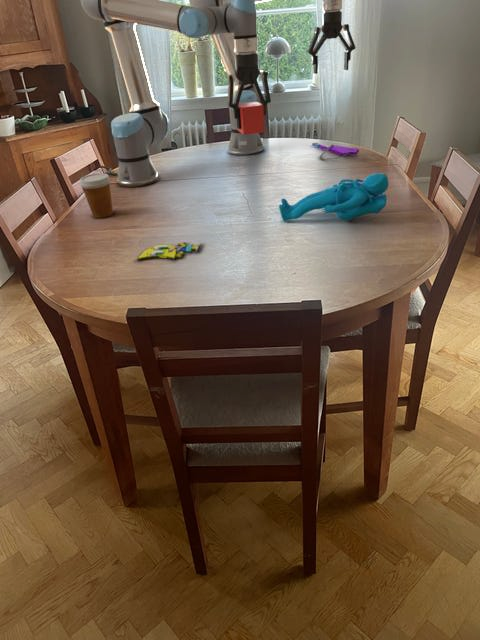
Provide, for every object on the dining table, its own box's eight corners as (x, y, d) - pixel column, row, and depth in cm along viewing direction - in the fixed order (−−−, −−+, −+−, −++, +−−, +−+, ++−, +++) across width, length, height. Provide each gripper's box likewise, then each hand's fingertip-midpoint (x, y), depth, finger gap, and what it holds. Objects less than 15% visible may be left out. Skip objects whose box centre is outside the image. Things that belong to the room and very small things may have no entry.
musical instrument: (347, 164, 184) (366, 144, 196) (347, 159, 183) (366, 139, 195) (292, 163, 197) (312, 145, 209) (291, 158, 195) (312, 140, 208)
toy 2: (282, 188, 144) (385, 161, 134) (291, 220, 149) (391, 197, 139) (274, 208, 131) (387, 180, 120) (284, 243, 136) (394, 219, 125)
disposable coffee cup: (82, 218, 153) (72, 181, 147) (99, 208, 161) (91, 172, 154) (106, 220, 150) (97, 182, 143) (123, 210, 157) (115, 173, 151)
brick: (243, 135, 166) (241, 107, 161) (237, 130, 173) (235, 104, 168) (264, 132, 167) (263, 105, 163) (257, 127, 174) (256, 101, 170)
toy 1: (193, 256, 121) (136, 257, 123) (194, 259, 121) (137, 260, 123) (201, 240, 129) (147, 241, 131) (201, 243, 130) (148, 244, 132)
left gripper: (218, 57, 152) (224, 132, 165) (279, 50, 156) (281, 125, 168) (213, 55, 158) (220, 128, 171) (272, 49, 162) (274, 121, 174)
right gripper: (305, 14, 183) (305, 75, 195) (365, 8, 187) (362, 69, 199) (298, 14, 189) (299, 74, 201) (357, 8, 194) (354, 67, 205)
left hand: (250, 126), depth 169 cm, fingers closed on brick, 8 cm apart
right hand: (330, 71), depth 200 cm, fingers open, 13 cm apart
